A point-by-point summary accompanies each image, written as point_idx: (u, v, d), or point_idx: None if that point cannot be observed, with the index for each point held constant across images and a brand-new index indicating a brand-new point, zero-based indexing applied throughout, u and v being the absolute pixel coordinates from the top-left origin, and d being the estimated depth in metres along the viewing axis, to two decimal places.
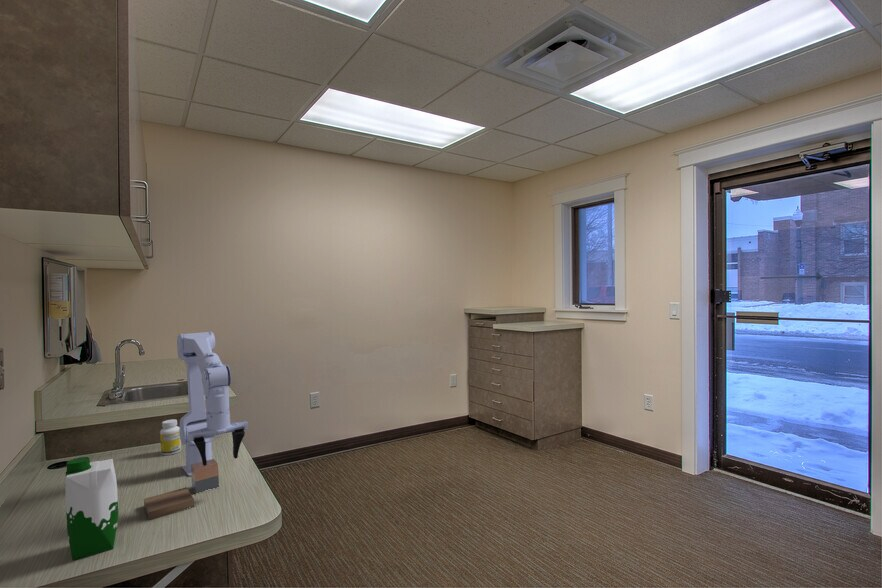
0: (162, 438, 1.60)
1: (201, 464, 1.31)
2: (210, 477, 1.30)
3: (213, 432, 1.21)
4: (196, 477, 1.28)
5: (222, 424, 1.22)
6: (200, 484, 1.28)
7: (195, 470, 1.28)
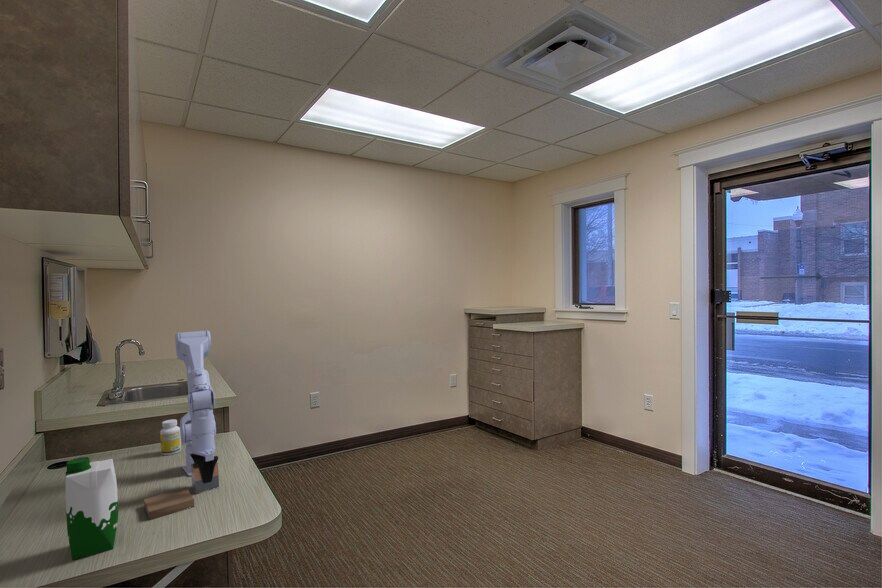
0: (162, 438, 1.60)
1: None
2: None
3: None
4: (196, 477, 1.28)
5: (192, 445, 1.29)
6: (200, 484, 1.28)
7: (195, 470, 1.28)
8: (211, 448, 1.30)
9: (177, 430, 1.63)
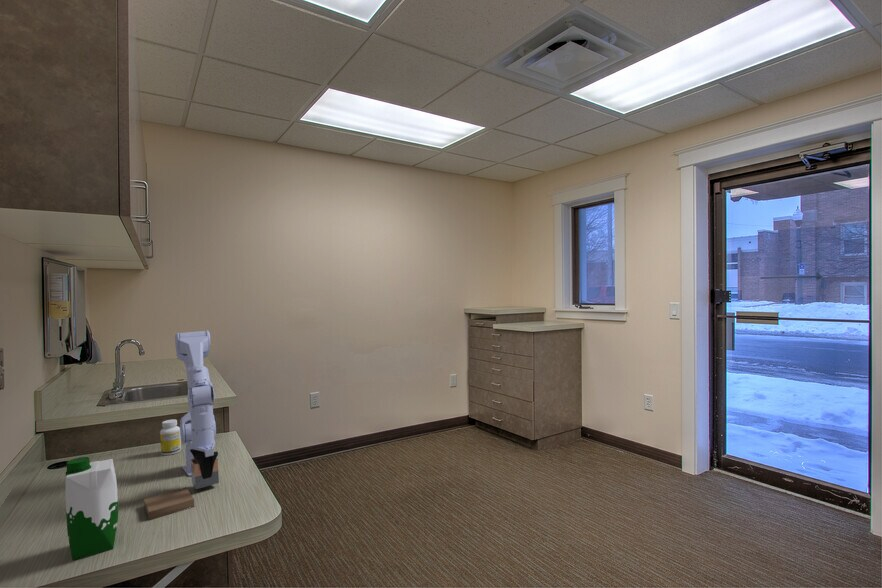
0: (162, 438, 1.60)
1: None
2: None
3: None
4: (196, 472, 1.28)
5: (192, 440, 1.29)
6: (200, 479, 1.28)
7: (195, 465, 1.28)
8: (211, 444, 1.30)
9: (177, 430, 1.63)
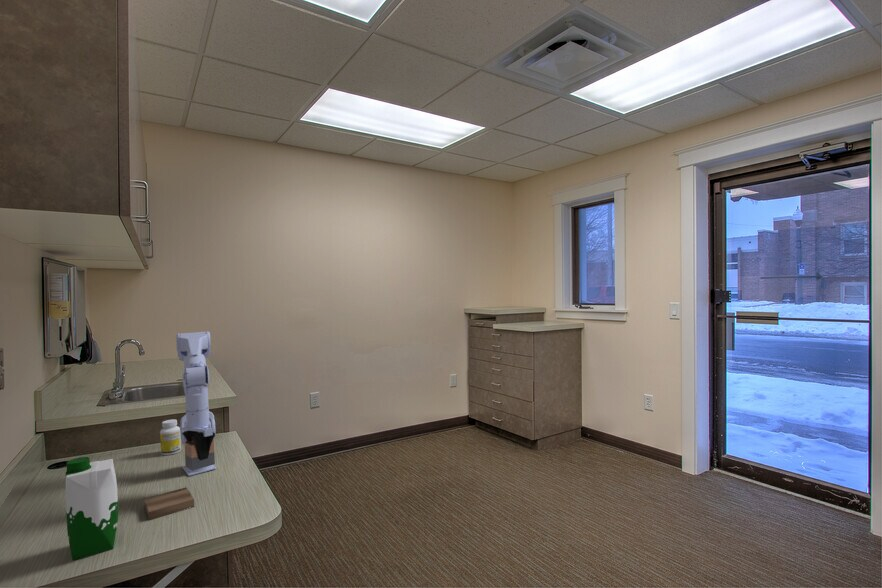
0: (162, 438, 1.60)
1: None
2: None
3: None
4: (192, 453, 1.26)
5: (187, 422, 1.27)
6: (196, 461, 1.27)
7: (191, 446, 1.26)
8: (207, 424, 1.29)
9: (177, 430, 1.63)
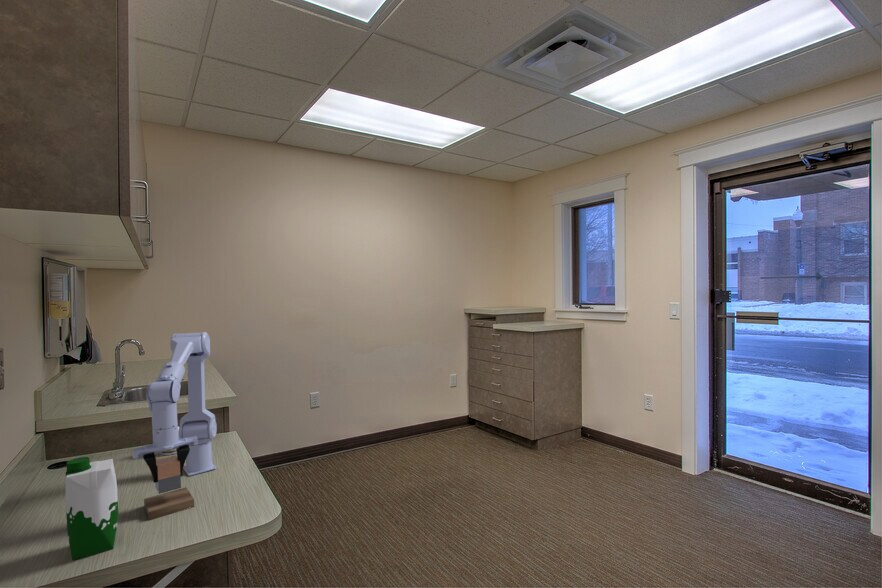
0: None
1: (166, 461, 1.20)
2: None
3: (160, 449, 1.17)
4: (179, 470, 1.20)
5: (169, 440, 1.18)
6: None
7: (179, 462, 1.20)
8: None
9: None
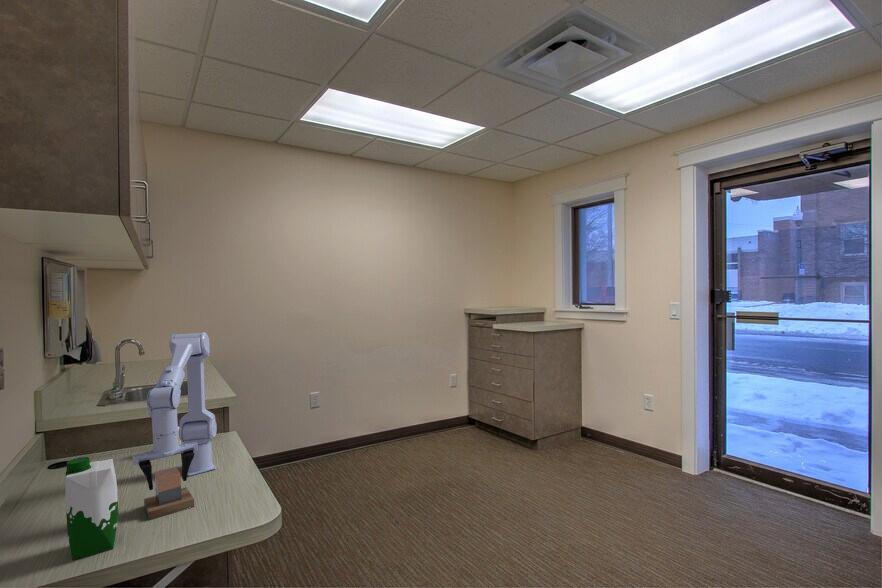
0: None
1: (167, 473, 1.20)
2: None
3: (160, 455, 1.17)
4: None
5: (169, 446, 1.18)
6: None
7: (179, 474, 1.20)
8: None
9: None
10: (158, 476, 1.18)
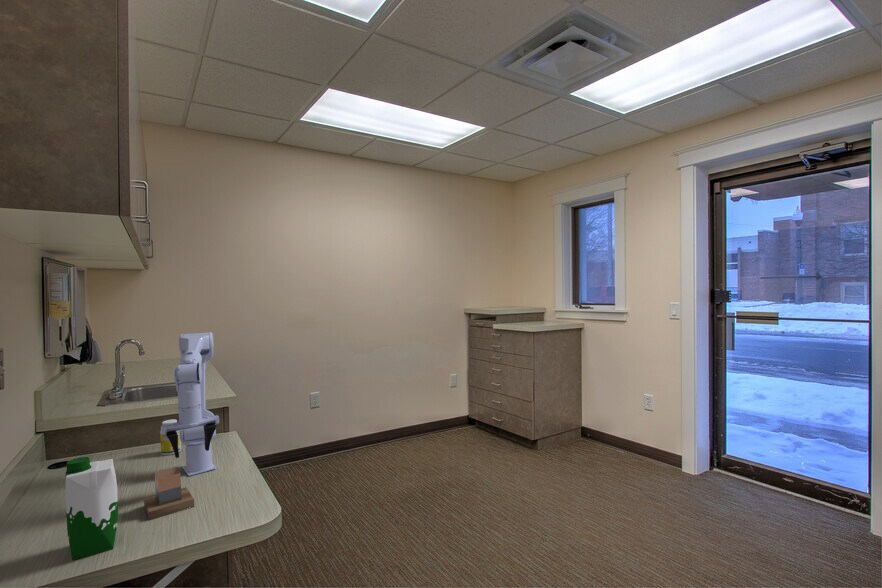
0: (162, 438, 1.60)
1: (167, 473, 1.20)
2: None
3: (185, 426, 1.27)
4: None
5: (194, 417, 1.28)
6: None
7: (179, 474, 1.20)
8: None
9: None
10: (158, 476, 1.18)
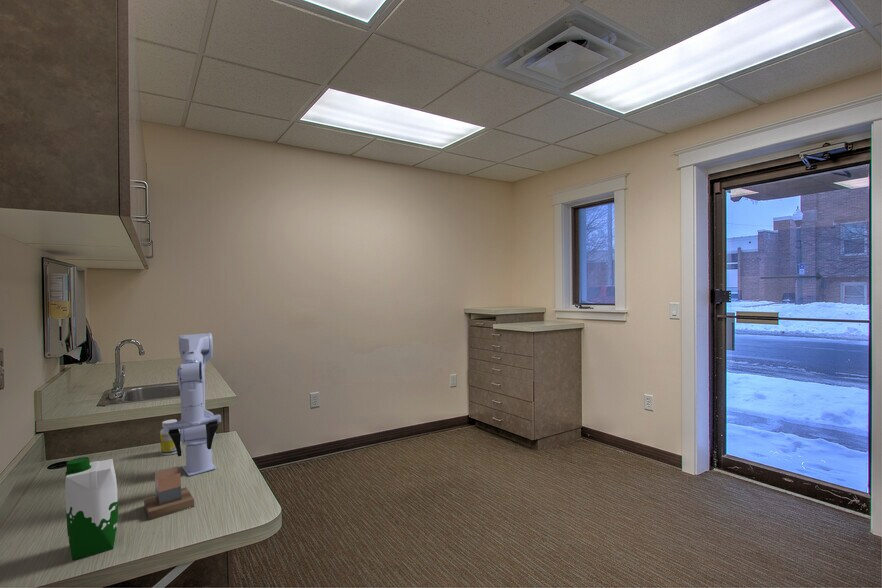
0: (162, 438, 1.60)
1: (167, 473, 1.20)
2: None
3: (188, 424, 1.28)
4: None
5: (196, 416, 1.29)
6: None
7: (179, 474, 1.20)
8: None
9: None
10: (158, 476, 1.18)
